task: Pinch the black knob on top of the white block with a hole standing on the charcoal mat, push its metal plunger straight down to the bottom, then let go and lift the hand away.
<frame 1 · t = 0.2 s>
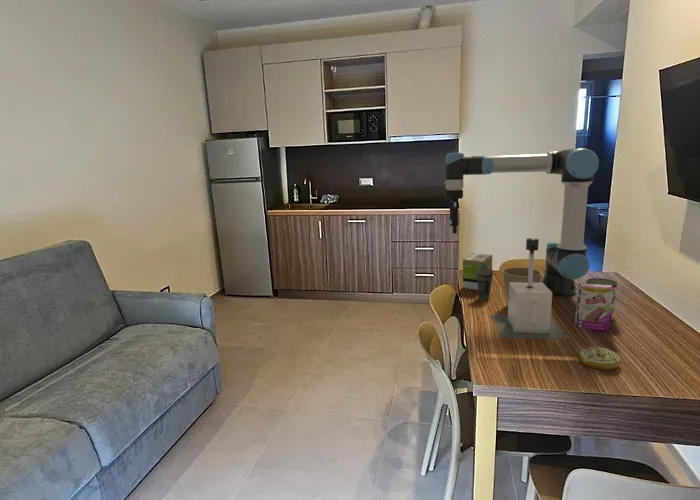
hand: (453, 237, 190), 28 cm above the table, tool pointing down, fingers open, 13 cm apart
charcoal mat: (527, 328, 160), on the table
plant pot: (520, 308, 181), on the table
tea box: (477, 286, 214), on the table
coffee can: (598, 316, 170), on the table
plunger: (530, 271, 156), point 22 cm above the table, slide at 8.0 cm
decorated donut: (598, 364, 133), on the table
white block with hole: (527, 326, 160), resting on charcoal mat
candy bar box: (592, 328, 159), on the table
beverage cup: (483, 298, 195), on the table
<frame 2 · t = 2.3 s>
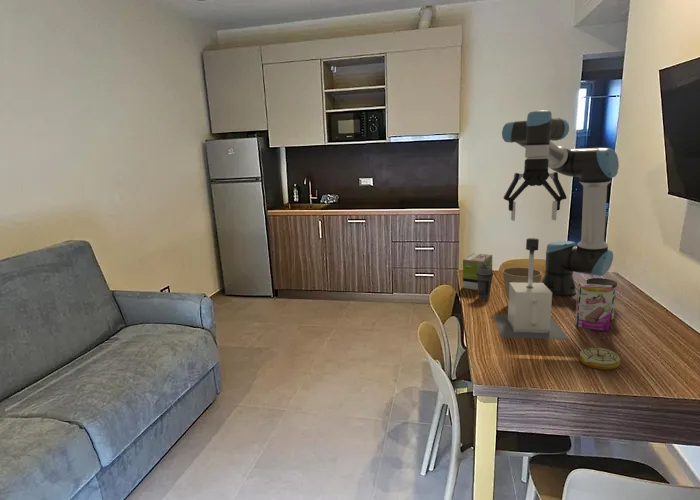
hand: (533, 220, 152), 41 cm above the table, tool pointing down, fingers open, 13 cm apart
nothing on the table moved.
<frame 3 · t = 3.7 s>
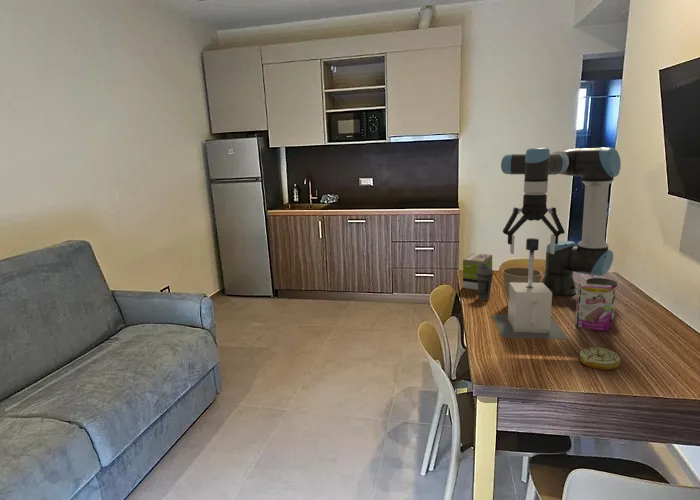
hand: (531, 253, 154), 29 cm above the table, tool pointing down, fingers open, 13 cm apart
nothing on the table moved.
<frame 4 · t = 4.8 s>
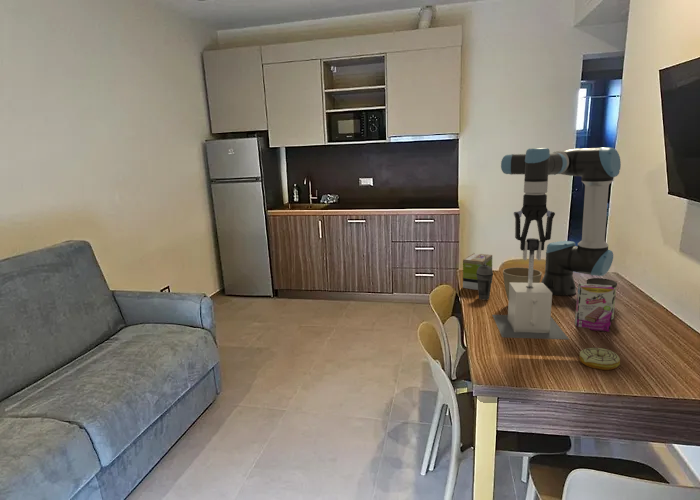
hand: (531, 259, 155), 27 cm above the table, tool pointing down, fingers closed on plunger, 4 cm apart
plunger: (530, 271, 156), point 22 cm above the table, slide at 8.0 cm, touching gripper
everything else where it was.
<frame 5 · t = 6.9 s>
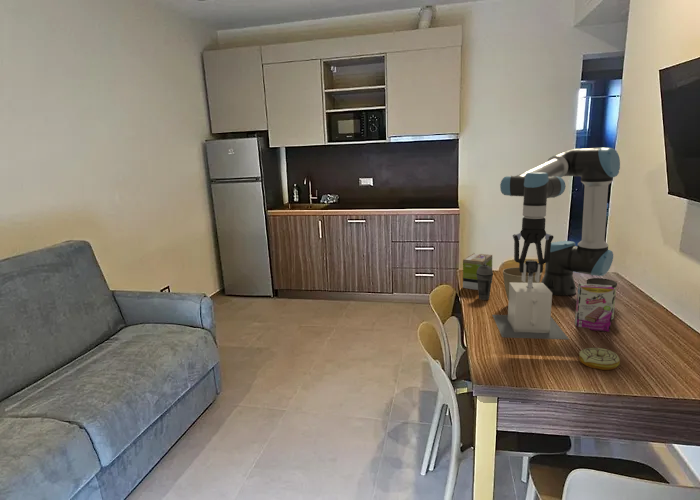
hand: (530, 280, 156), 18 cm above the table, tool pointing down, fingers closed on plunger, 4 cm apart
plunger: (529, 293, 157), point 14 cm above the table, slide at -0.1 cm, touching gripper, white block with hole
everything else where it was.
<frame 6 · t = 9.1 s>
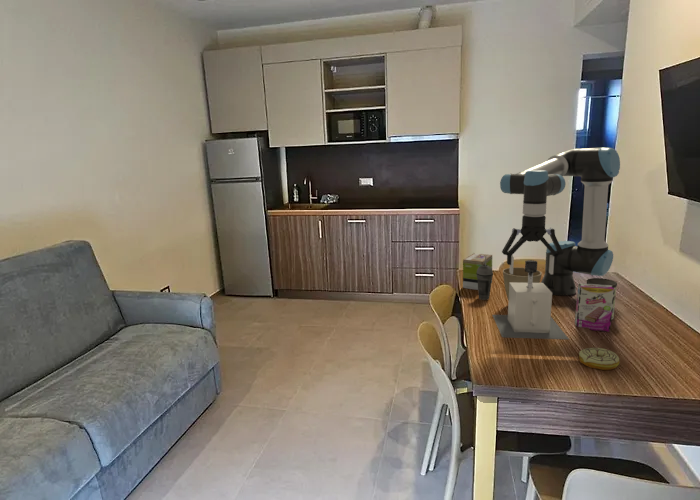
hand: (530, 273, 156), 21 cm above the table, tool pointing down, fingers open, 13 cm apart
plunger: (529, 293, 157), point 14 cm above the table, slide at -0.1 cm, touching white block with hole
everything else where it was.
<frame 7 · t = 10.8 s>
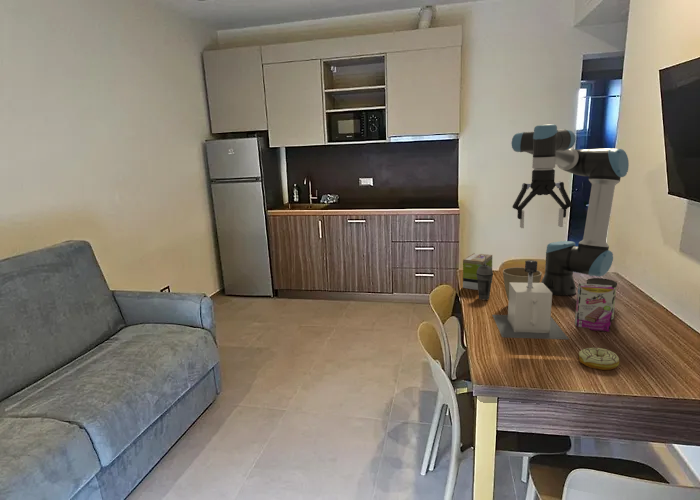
hand: (540, 227, 160), 37 cm above the table, tool pointing down, fingers open, 13 cm apart
nothing on the table moved.
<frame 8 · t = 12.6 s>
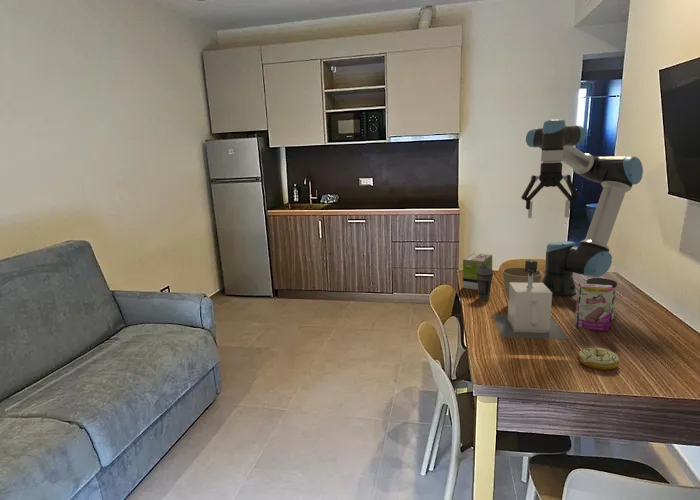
hand: (548, 217, 169), 39 cm above the table, tool pointing down, fingers open, 13 cm apart
nothing on the table moved.
at the end: plunger slide at -0.1 cm; the gripper is holding nothing; plant pot moved 0.2 cm from its start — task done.
